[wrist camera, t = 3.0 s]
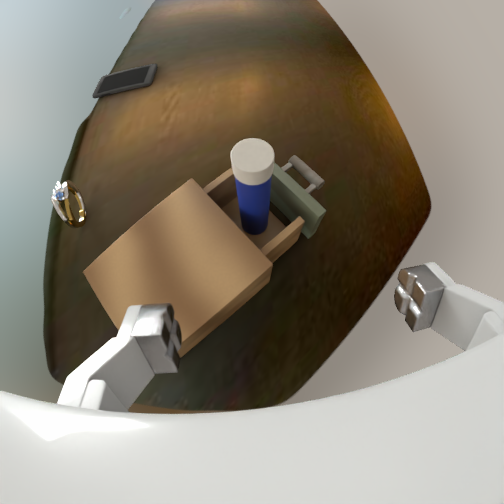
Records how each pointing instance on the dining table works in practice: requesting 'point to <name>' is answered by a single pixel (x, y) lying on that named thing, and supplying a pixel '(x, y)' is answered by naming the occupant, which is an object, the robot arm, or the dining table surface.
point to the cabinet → (181, 265)
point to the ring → (59, 197)
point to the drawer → (284, 198)
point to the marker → (253, 182)
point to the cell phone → (125, 80)
